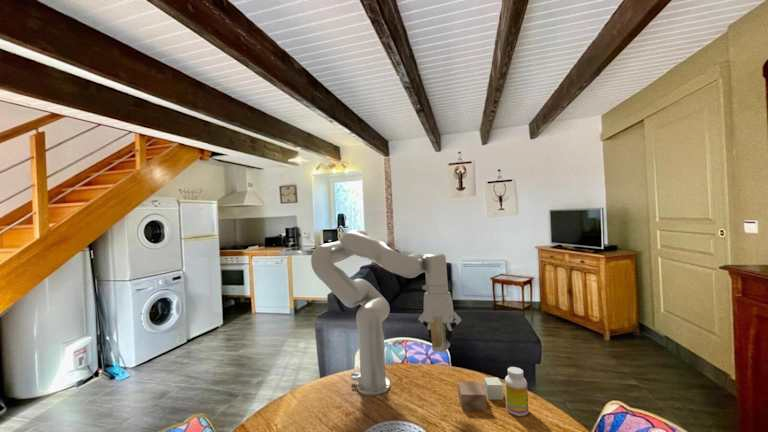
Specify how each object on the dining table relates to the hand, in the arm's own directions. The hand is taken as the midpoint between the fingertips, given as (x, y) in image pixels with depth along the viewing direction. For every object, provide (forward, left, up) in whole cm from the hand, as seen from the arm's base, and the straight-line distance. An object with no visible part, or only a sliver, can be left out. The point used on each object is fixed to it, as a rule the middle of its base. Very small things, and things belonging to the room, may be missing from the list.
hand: (440, 340), depth 108 cm
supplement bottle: (+24, -2, -20) cm, 31 cm away
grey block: (+17, +5, -20) cm, 27 cm away
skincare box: (0, 0, -3) cm, 3 cm away
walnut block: (+10, -1, -20) cm, 22 cm away
